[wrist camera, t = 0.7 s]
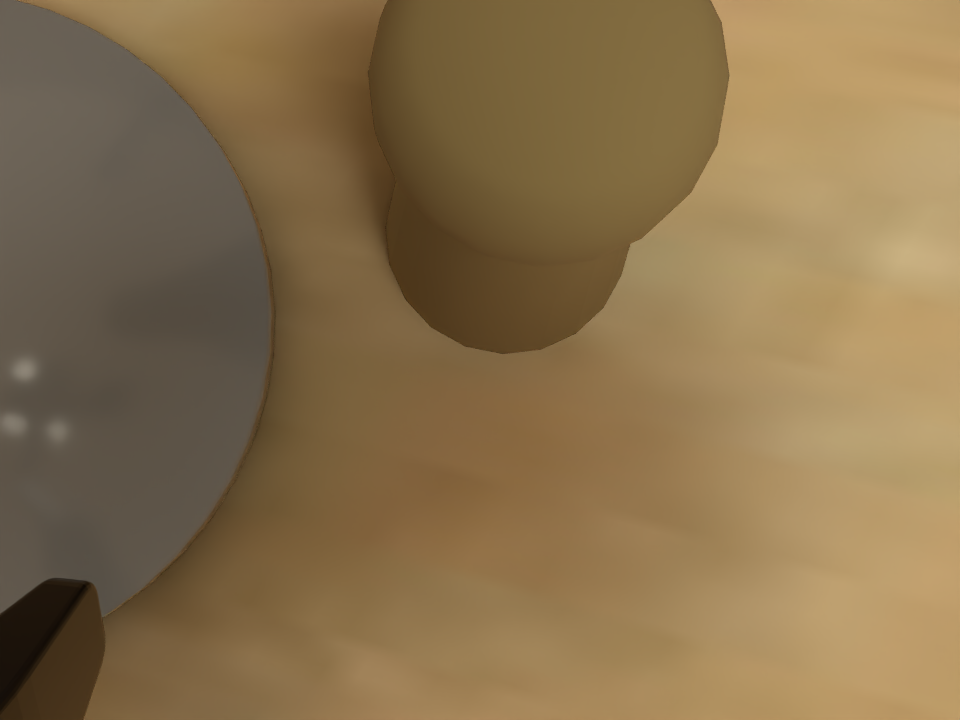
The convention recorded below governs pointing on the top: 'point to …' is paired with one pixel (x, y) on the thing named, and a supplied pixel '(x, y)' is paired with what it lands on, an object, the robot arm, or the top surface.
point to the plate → (117, 314)
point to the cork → (536, 151)
